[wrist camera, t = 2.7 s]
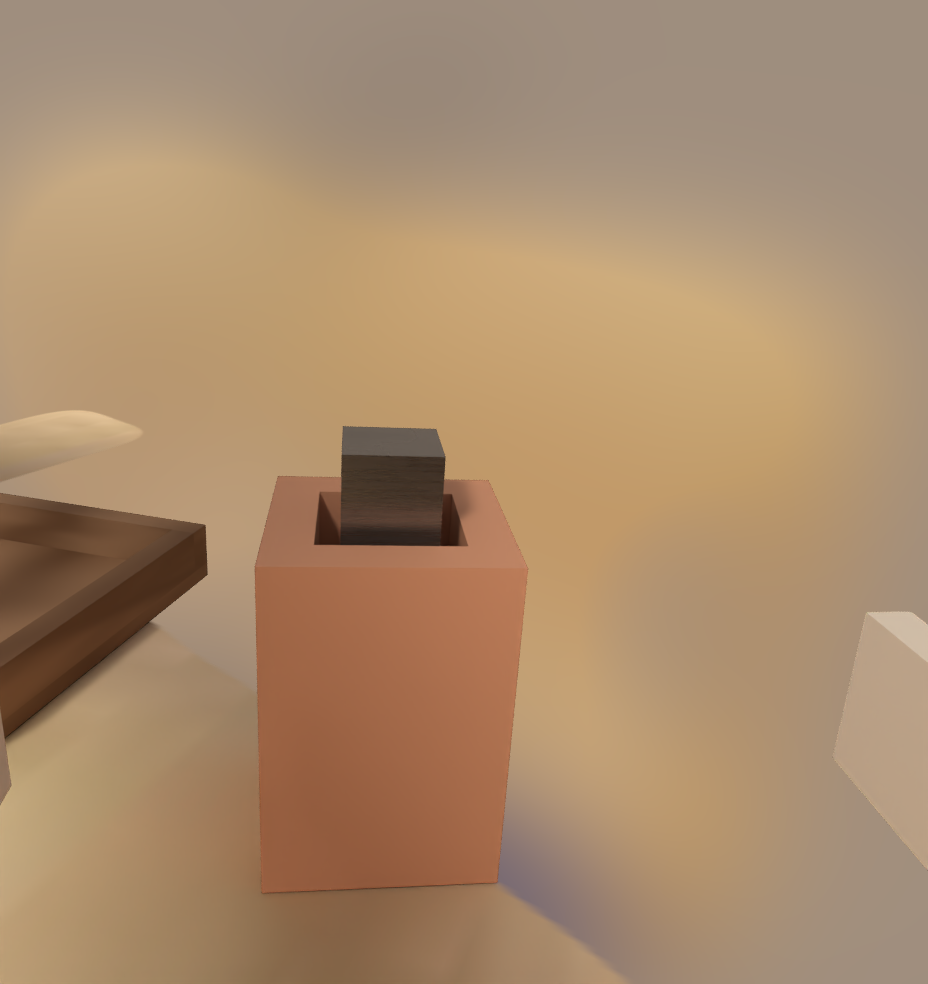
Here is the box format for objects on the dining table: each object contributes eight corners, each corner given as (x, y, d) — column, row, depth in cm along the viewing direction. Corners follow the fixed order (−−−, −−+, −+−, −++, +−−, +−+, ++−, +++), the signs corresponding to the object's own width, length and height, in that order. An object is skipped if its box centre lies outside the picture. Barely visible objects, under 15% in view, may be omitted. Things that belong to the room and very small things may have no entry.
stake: (335, 838, 23) (341, 454, 20) (337, 780, 25) (342, 426, 22) (423, 835, 24) (445, 457, 20) (417, 778, 26) (435, 428, 22)
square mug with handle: (261, 892, 21) (254, 566, 18) (284, 715, 28) (282, 458, 25) (497, 882, 22) (528, 568, 19) (462, 712, 29) (480, 463, 26)
